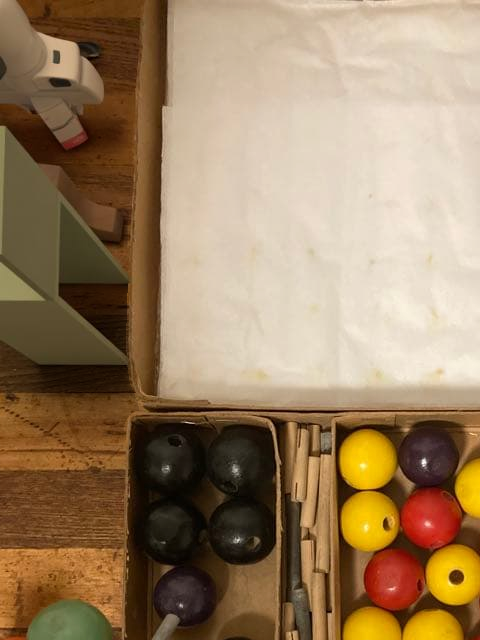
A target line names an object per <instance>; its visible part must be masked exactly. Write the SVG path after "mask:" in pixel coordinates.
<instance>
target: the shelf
mask: <svg viewBox="0 0 480 640" xmlns="http://www.w3.org/2000/svg"><path fill="white" fill-rule="evenodd" d="M36 163H37V162H36V161H35V160H34V159H33V157H32V156H31V155H30V154H29V152H28V151H27V150H26V149H25V148H24V146H22V144H21V143H20V141H19V140H18V139H17V138H16V137H15V136H14V135H13V133H12V132H11V131H10V129H8V127H7V126H6V125H0V341H1V342H3V343H5V344H6V345H8V346H9V347H11V348H12V349H14V350H15V351H17V352H19V353H20V354H22V355H23V356H24V357H26V358H28V359H29V360H31V361H32V362H35V363H36V364H38V365H61V366H63V365H66V366H67V365H69V366H70V365H71V366H72V365H75V366H76V365H78V366H79V365H81V366H82V365H83V366H84V365H85V366H86V365H87V366H89V365H91V366H94V365H97V366H103V365H105V366H121V365H122V366H128V365H129V364H130V358H129V357H128V356H127V355H126V354H124V353H123V351H122V350H120V349H119V348H118V347H116V345H115V344H113V342H112V341H110V340H109V339H107V337H106V336H104V335H103V334H102V333H101V332H100V331H99V330H98V329H97V328H95V327H94V326H93V325H92V324H91V323H90V322H89V321H88V320H86V319H85V318H84V317H83V316H82V315H81V314H79V312H78V311H76V310H75V309H74V308H73V307H72V306H71V305H69V304H68V302H66V301H65V300H64V299H63V298H62V297H61V296H60V295H59V284H131V278H130V277H131V276H130V275H129V273H128V272H127V271H126V270H125V269H124V267H123V266H122V265H121V264H120V262H119V261H118V260H117V258H115V257H114V256H113V254H112V253H111V252H110V250H108V248H107V247H106V245H104V243H103V242H102V240H99V239H98V237H97V236H96V235H95V234H94V233H93V231H92V230H91V229H90V228H89V226H88V225H87V224H86V223H85V222H84V220H83V219H82V218H81V217H80V216H79V214H78V213H77V212H76V211H75V210H74V208H73V207H72V206H71V205H70V204H69V202H68V201H67V200H66V199H65V198H64V196H63V195H62V194H61V193H60V192H59V190H58V189H57V188H56V187H55V185H54V184H53V183H52V182H51V181H50V179H49V178H48V177H47V176H46V174H45V173H44V172H43V171H42V170H41V168H40V167H39V166H38V165H37V164H36Z"/></svg>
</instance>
